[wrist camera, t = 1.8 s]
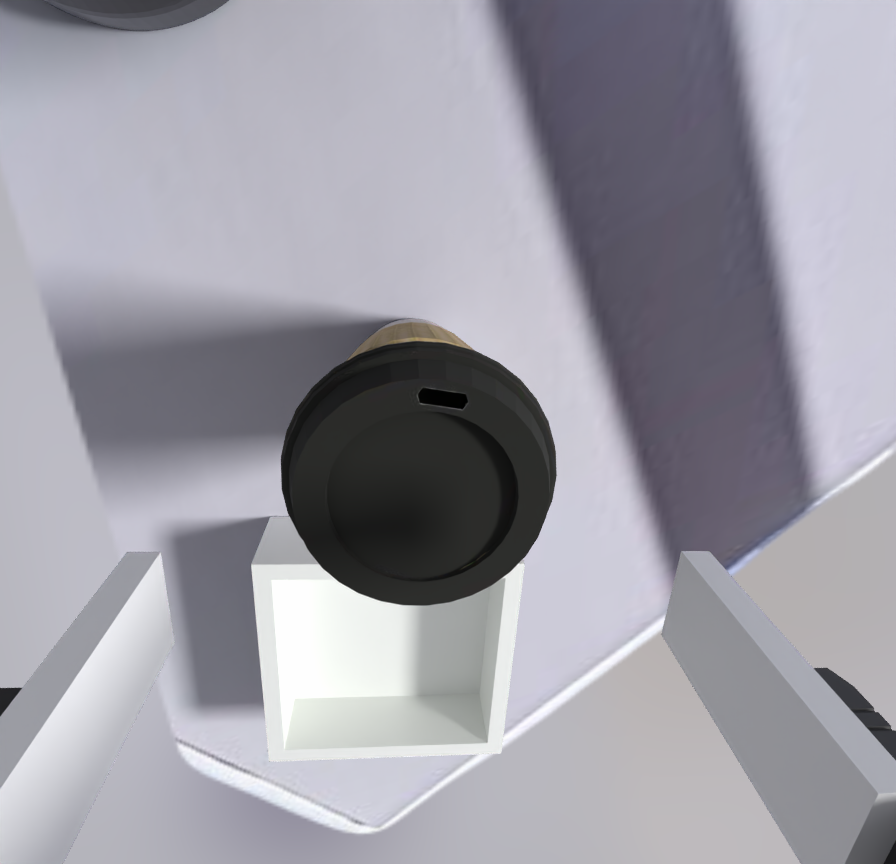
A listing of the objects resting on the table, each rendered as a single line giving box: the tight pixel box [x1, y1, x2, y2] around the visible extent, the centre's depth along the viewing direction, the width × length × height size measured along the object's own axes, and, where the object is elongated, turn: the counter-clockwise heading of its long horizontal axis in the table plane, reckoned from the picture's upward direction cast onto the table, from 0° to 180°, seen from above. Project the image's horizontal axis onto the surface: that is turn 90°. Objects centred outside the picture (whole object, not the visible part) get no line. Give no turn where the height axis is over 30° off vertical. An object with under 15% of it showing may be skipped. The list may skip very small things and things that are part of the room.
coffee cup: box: [281, 319, 556, 606], centre depth 26 cm, size 10×10×15 cm
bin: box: [251, 517, 525, 762], centre depth 36 cm, size 15×15×5 cm
